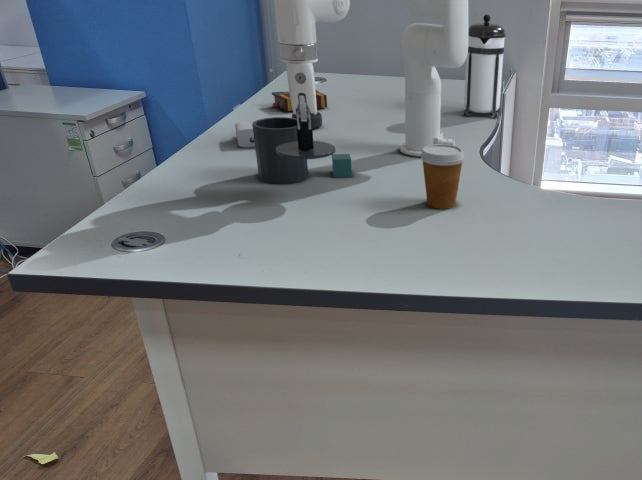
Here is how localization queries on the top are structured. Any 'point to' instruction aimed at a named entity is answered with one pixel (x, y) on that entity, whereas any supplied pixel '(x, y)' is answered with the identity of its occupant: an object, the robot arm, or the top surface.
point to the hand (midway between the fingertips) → (305, 145)
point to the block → (341, 165)
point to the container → (268, 161)
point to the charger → (245, 134)
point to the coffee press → (484, 68)
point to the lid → (305, 150)
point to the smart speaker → (313, 119)
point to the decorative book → (285, 103)
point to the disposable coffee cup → (442, 174)
